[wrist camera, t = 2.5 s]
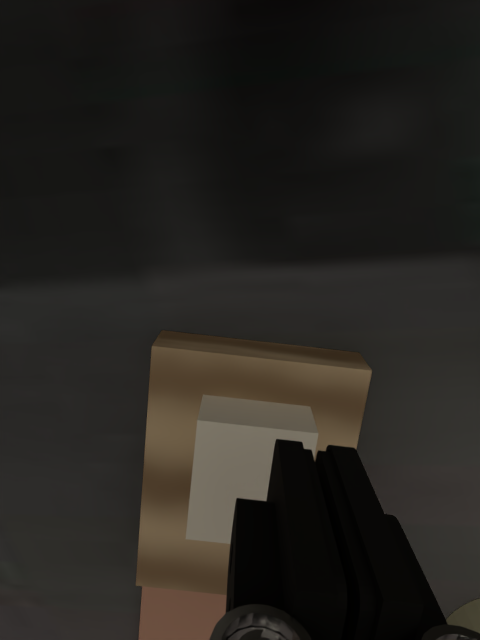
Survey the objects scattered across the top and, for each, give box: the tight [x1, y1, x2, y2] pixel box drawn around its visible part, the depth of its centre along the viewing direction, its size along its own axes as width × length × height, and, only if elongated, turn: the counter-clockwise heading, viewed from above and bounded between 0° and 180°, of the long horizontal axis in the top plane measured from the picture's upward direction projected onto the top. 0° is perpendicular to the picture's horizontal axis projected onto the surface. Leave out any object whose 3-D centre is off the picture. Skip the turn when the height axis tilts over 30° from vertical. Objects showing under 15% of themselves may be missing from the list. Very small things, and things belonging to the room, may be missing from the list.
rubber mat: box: [139, 586, 227, 640], centre depth 33 cm, size 12×12×1 cm
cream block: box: [186, 395, 319, 544], centre depth 25 cm, size 7×6×3 cm
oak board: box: [136, 330, 372, 595], centre depth 28 cm, size 16×12×3 cm
